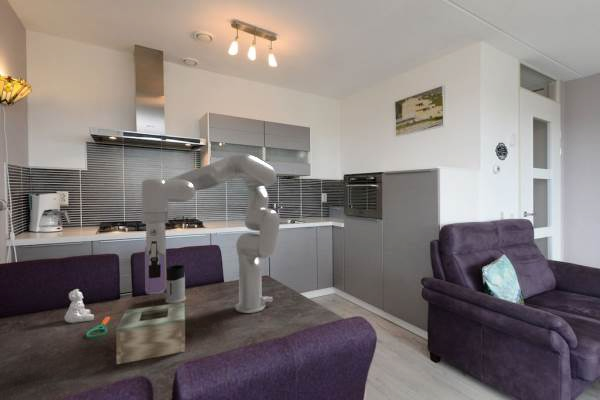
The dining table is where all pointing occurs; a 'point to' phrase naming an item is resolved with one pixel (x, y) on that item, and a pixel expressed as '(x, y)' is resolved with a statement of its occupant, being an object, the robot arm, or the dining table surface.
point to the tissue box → (151, 332)
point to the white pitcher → (175, 284)
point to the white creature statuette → (77, 309)
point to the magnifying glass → (99, 329)
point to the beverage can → (155, 283)
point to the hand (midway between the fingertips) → (155, 274)
